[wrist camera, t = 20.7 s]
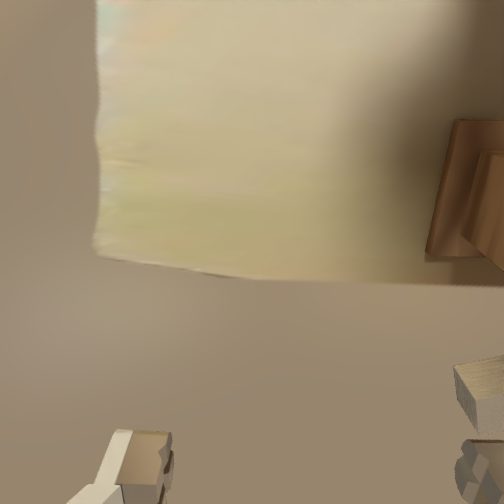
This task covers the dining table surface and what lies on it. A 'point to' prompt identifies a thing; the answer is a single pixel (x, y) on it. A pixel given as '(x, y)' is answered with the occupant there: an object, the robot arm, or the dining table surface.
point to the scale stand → (471, 194)
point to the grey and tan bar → (482, 393)
